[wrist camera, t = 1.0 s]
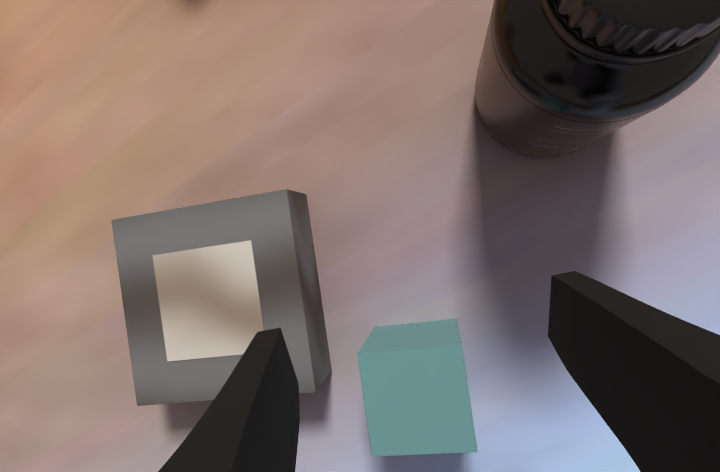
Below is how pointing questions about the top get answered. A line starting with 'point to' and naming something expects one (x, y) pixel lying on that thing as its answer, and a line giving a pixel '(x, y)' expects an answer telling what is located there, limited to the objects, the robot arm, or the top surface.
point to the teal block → (416, 390)
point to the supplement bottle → (587, 66)
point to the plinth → (218, 293)
